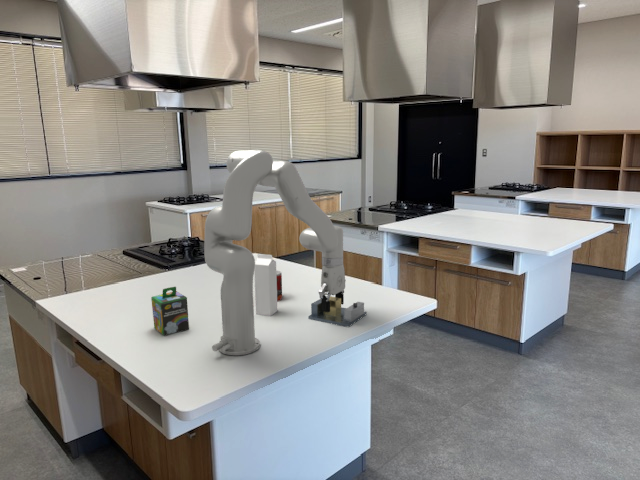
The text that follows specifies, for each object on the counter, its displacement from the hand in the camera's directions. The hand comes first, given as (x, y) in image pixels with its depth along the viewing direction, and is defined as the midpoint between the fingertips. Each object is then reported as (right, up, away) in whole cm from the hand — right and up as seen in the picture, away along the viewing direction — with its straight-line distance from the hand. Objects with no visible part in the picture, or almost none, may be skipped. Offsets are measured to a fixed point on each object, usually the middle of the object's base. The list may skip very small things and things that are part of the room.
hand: (332, 307), depth 168 cm
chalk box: (-55, -6, -10) cm, 56 cm away
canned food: (-24, 0, +21) cm, 32 cm away
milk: (-24, -3, +5) cm, 25 cm away
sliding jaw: (+7, -3, -4) cm, 9 cm away
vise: (+2, -3, 0) cm, 4 cm away
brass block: (0, -2, 0) cm, 2 cm away
